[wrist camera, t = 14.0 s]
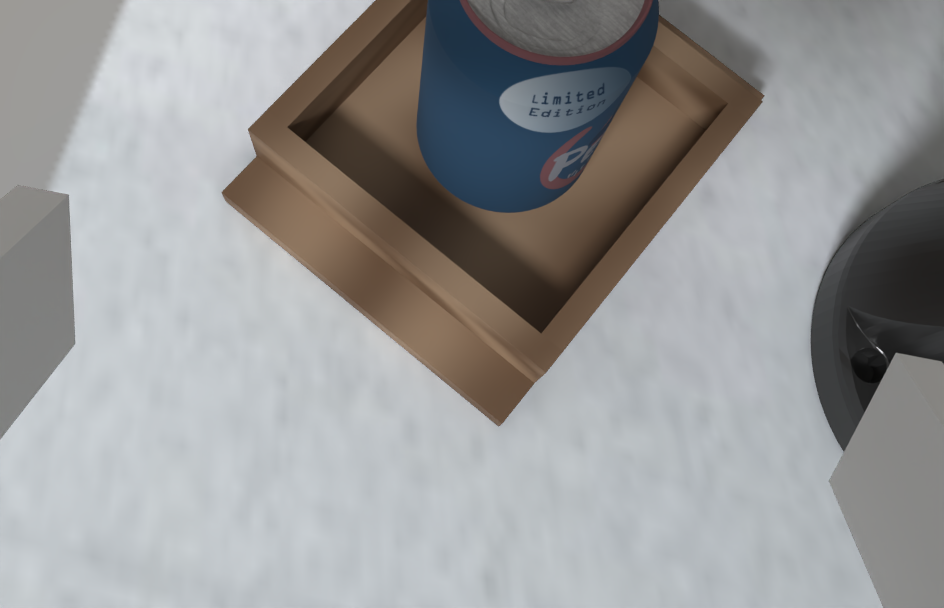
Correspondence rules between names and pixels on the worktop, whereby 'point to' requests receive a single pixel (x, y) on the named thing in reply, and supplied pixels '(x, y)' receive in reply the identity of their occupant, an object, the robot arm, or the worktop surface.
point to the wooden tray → (465, 226)
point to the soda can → (524, 92)
